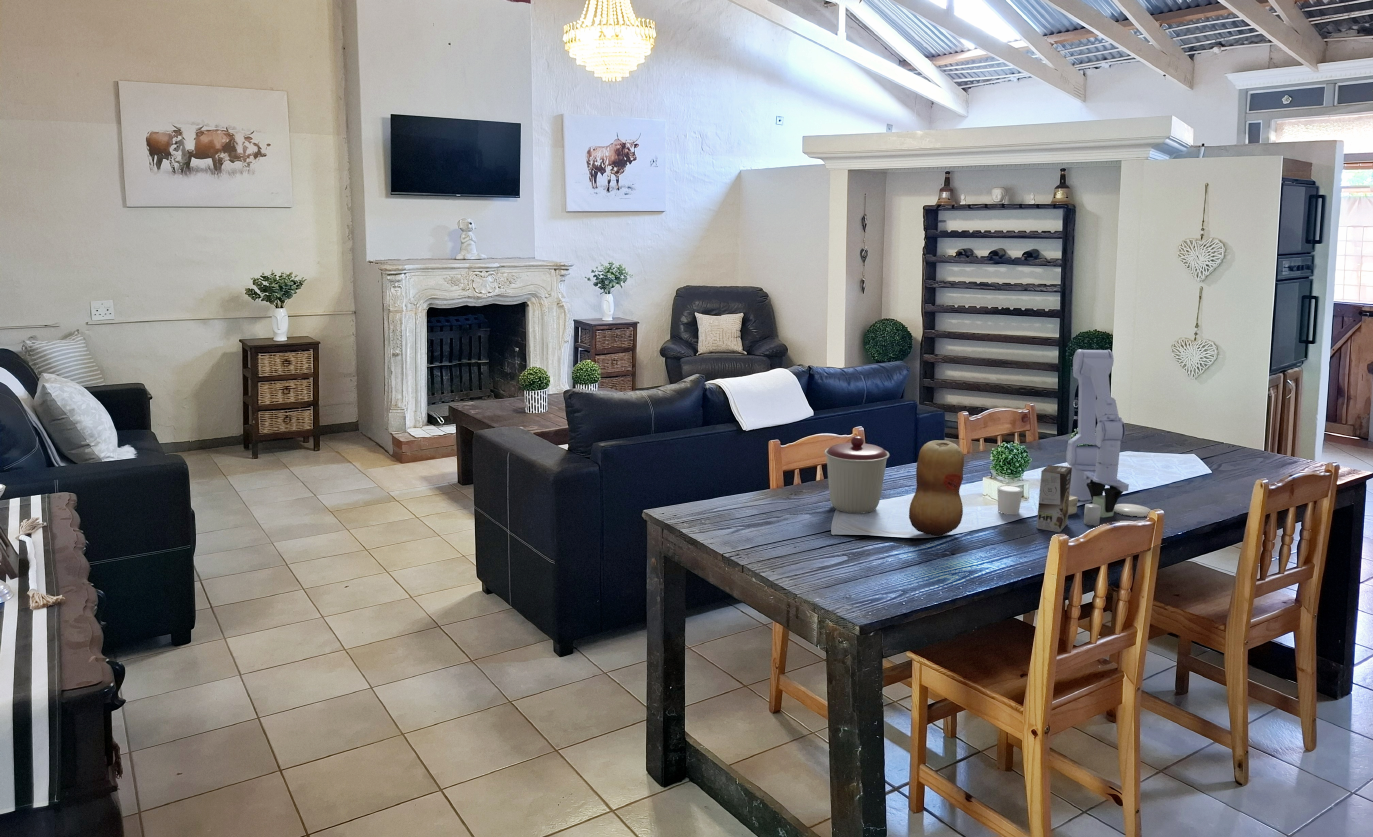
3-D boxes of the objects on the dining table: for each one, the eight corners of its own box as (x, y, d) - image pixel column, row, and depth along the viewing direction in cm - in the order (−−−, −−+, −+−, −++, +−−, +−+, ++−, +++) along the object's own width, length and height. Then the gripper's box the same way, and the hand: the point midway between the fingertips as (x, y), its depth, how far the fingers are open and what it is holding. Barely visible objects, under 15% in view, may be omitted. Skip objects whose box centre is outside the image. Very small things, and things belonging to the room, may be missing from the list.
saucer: (1104, 508, 291) (1105, 506, 291) (1131, 504, 295) (1131, 502, 295) (1132, 518, 282) (1132, 515, 282) (1159, 514, 286) (1159, 511, 286)
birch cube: (1053, 511, 288) (1054, 496, 287) (1062, 509, 291) (1063, 493, 290) (1067, 515, 285) (1068, 500, 284) (1076, 512, 287) (1077, 497, 287)
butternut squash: (928, 545, 258) (934, 450, 253) (898, 530, 270) (902, 438, 265) (972, 539, 264) (979, 445, 258) (940, 524, 276) (946, 434, 270)
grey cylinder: (1080, 522, 279) (1081, 504, 278) (1091, 520, 280) (1093, 503, 279) (1091, 526, 275) (1092, 508, 274) (1102, 524, 277) (1104, 507, 276)
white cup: (1008, 516, 283) (1010, 492, 281) (990, 510, 289) (992, 486, 287) (1026, 513, 286) (1028, 489, 285) (1008, 507, 292) (1010, 483, 290)
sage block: (1091, 513, 287) (1093, 496, 286) (1102, 512, 288) (1103, 495, 287) (1102, 517, 283) (1104, 500, 282) (1113, 515, 285) (1114, 498, 284)
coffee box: (1060, 532, 269) (1065, 474, 266) (1035, 528, 273) (1040, 470, 269) (1068, 524, 277) (1073, 466, 273) (1043, 520, 280) (1048, 463, 277)
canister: (898, 508, 290) (902, 436, 285) (863, 522, 277) (866, 447, 272) (845, 496, 302) (848, 426, 297) (809, 508, 289) (812, 436, 284)
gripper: (1077, 458, 287) (1072, 504, 290) (1116, 470, 274) (1112, 518, 277) (1095, 456, 290) (1091, 501, 293) (1136, 467, 277) (1131, 515, 280)
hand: (1102, 509), depth 285 cm, fingers closed on sage block, 4 cm apart
